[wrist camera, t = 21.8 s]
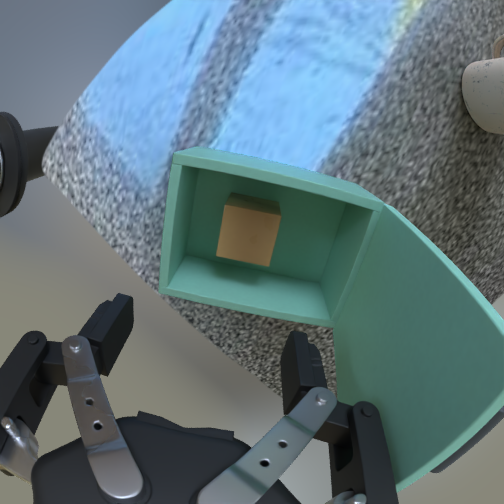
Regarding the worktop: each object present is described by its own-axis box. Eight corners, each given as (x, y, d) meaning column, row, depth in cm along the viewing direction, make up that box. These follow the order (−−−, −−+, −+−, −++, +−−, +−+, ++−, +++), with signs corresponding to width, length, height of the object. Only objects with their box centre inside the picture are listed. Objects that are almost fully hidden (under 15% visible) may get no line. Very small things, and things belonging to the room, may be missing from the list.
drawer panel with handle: (336, 517, 9) (411, 512, 8) (524, 364, 4) (577, 367, 4) (332, 330, 24) (379, 341, 23) (383, 203, 19) (436, 223, 18)
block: (222, 236, 28) (215, 256, 24) (231, 191, 26) (224, 204, 22) (268, 245, 28) (269, 267, 24) (279, 201, 26) (281, 216, 22)
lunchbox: (179, 256, 30) (158, 293, 23) (196, 146, 25) (172, 152, 18) (322, 286, 31) (335, 328, 24) (356, 183, 26) (385, 203, 19)
